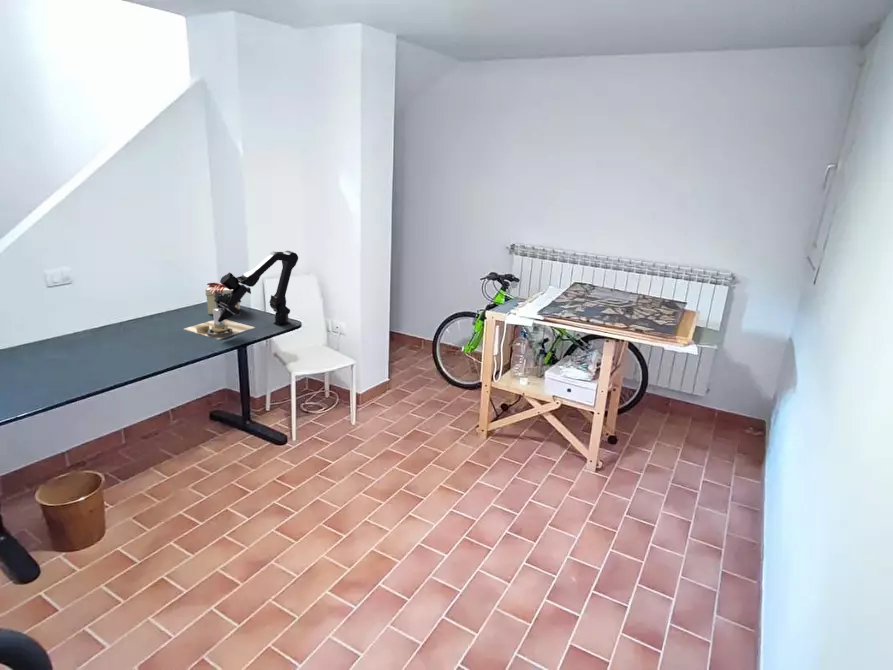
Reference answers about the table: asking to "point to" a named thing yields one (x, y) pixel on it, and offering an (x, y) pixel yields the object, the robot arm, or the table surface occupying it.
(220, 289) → the gift box
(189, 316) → the table surface
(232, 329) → the board
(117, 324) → the table surface
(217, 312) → the silver round piece
